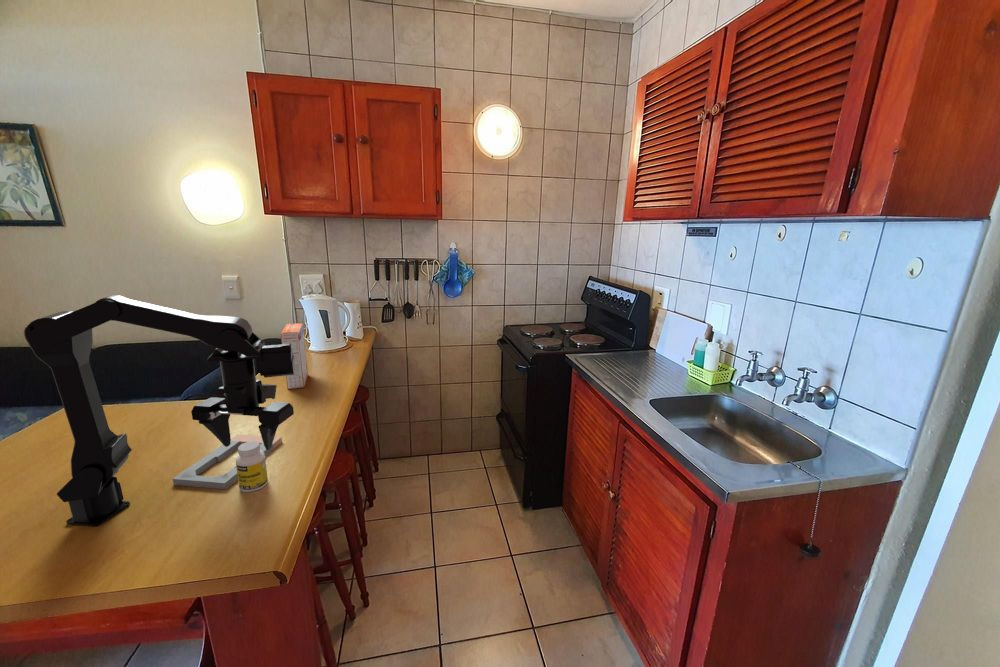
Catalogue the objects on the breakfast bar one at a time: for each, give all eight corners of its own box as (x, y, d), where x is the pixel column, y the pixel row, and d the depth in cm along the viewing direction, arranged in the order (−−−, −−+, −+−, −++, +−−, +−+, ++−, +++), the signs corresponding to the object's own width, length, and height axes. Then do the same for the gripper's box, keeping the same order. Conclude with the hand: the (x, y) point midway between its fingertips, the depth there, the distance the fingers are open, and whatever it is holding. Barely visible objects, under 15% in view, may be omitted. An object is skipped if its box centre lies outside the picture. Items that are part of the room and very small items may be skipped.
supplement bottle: (235, 494, 84) (229, 453, 81) (244, 479, 89) (238, 440, 86) (264, 491, 85) (259, 450, 83) (271, 476, 90) (266, 438, 88)
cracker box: (291, 376, 151) (286, 323, 146) (308, 374, 153) (304, 322, 148) (285, 389, 138) (279, 332, 133) (304, 388, 140) (299, 331, 135)
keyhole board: (225, 489, 85) (224, 483, 85) (173, 484, 86) (172, 478, 86) (282, 442, 105) (281, 437, 104) (239, 439, 105) (238, 433, 105)
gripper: (305, 369, 88) (310, 432, 92) (225, 364, 89) (234, 426, 93) (273, 387, 77) (281, 458, 81) (183, 381, 78) (195, 451, 82)
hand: (248, 447), depth 84 cm, fingers open, 9 cm apart
